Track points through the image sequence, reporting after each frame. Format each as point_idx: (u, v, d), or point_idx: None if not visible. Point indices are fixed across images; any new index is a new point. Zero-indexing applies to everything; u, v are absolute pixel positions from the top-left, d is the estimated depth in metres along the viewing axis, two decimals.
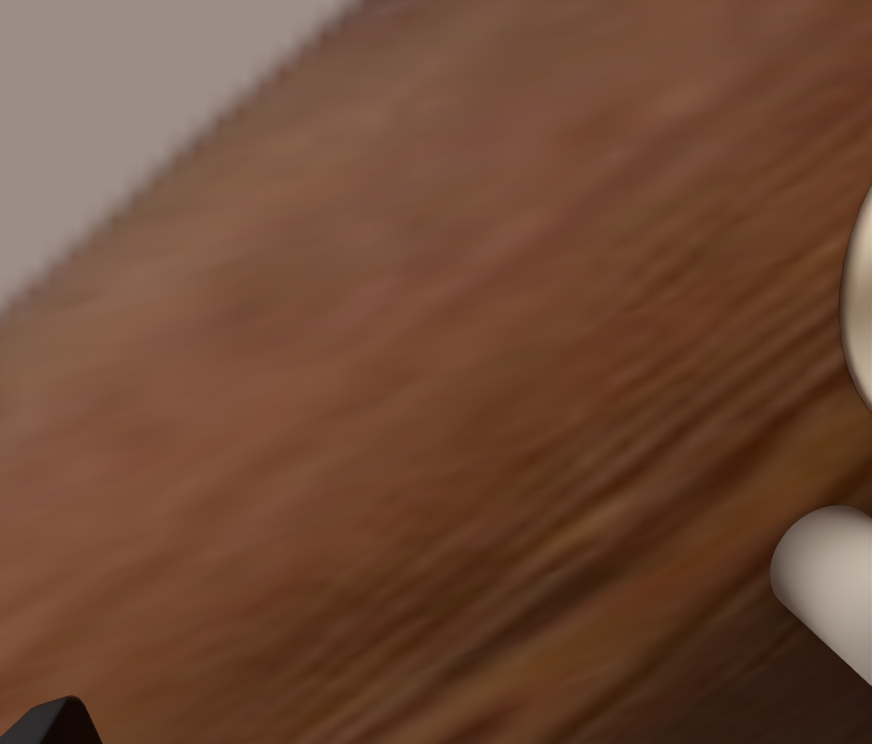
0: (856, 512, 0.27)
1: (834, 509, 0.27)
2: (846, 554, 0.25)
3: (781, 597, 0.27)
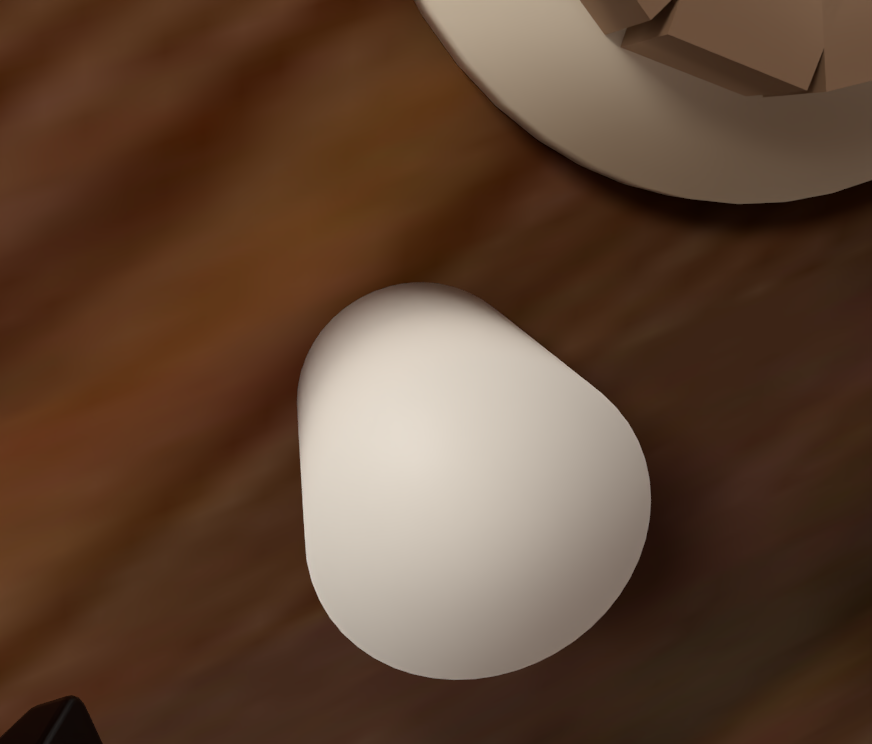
0: (450, 290, 0.13)
1: (408, 286, 0.13)
2: (355, 344, 0.11)
3: None
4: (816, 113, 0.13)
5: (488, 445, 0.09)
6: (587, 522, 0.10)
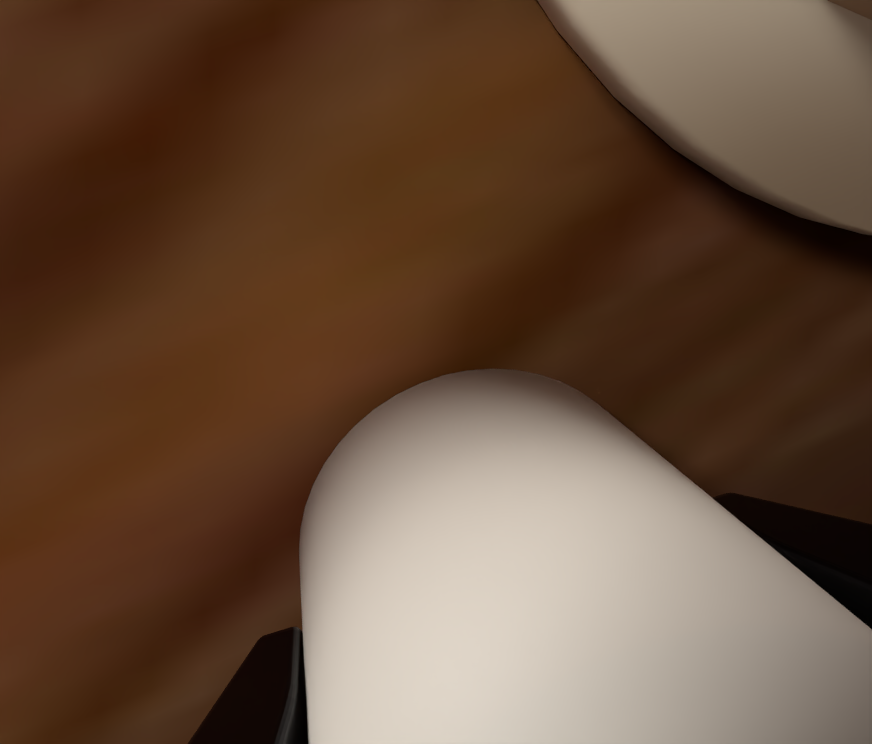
0: (540, 385, 0.08)
1: (473, 378, 0.09)
2: (402, 508, 0.06)
3: None
4: None
5: None
6: None
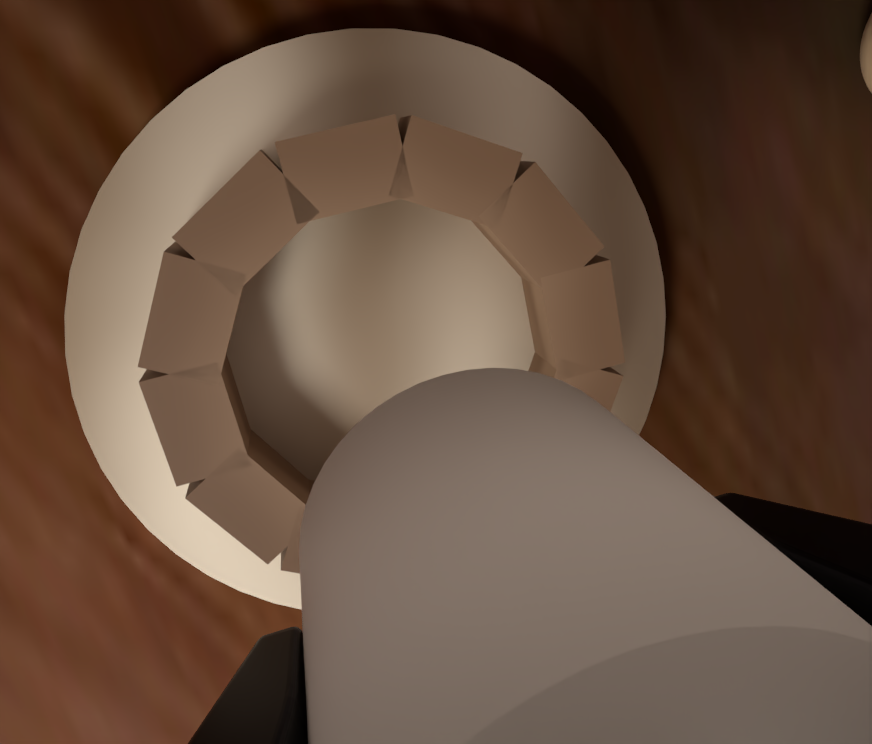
0: (541, 384, 0.08)
1: (474, 377, 0.08)
2: (403, 509, 0.06)
3: None
4: None
5: None
6: None
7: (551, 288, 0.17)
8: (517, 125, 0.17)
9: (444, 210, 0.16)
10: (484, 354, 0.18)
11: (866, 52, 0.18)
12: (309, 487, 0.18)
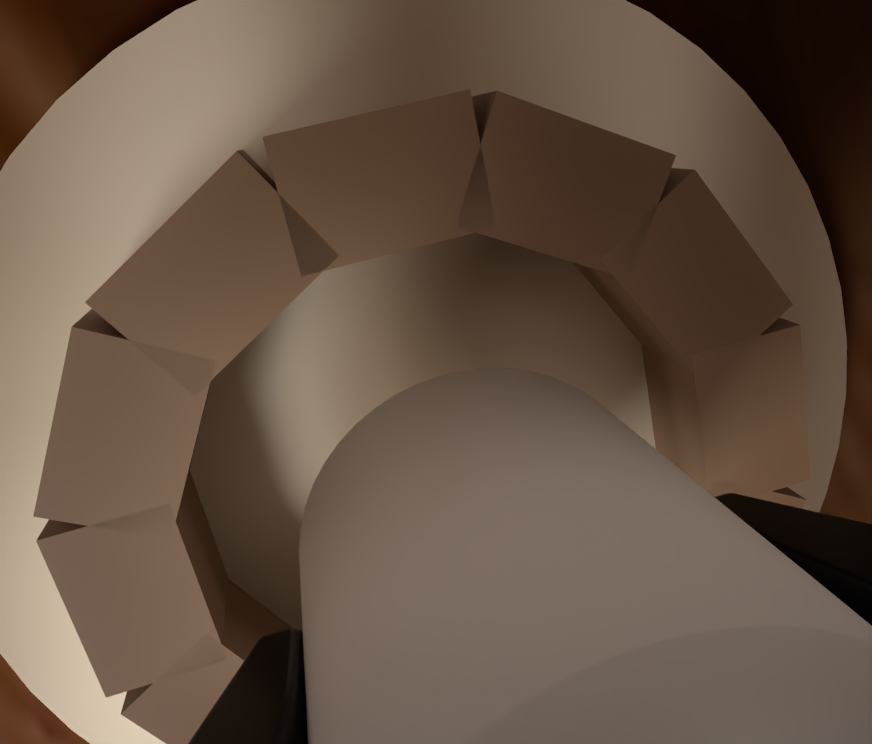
0: (541, 383, 0.08)
1: (474, 376, 0.08)
2: (402, 508, 0.06)
3: None
4: None
5: None
6: None
7: (707, 371, 0.10)
8: (646, 110, 0.11)
9: (545, 250, 0.09)
10: None
11: None
12: None
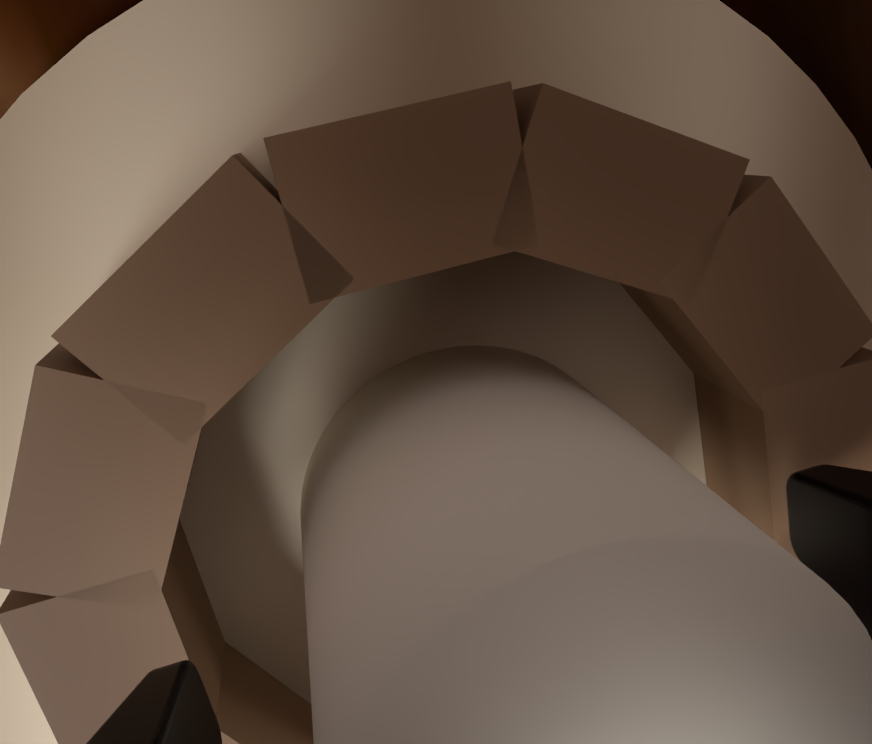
0: (518, 359, 0.09)
1: (458, 352, 0.09)
2: (391, 461, 0.07)
3: None
4: None
5: (637, 677, 0.05)
6: None
7: (778, 409, 0.09)
8: (705, 108, 0.09)
9: (596, 271, 0.08)
10: None
11: None
12: None
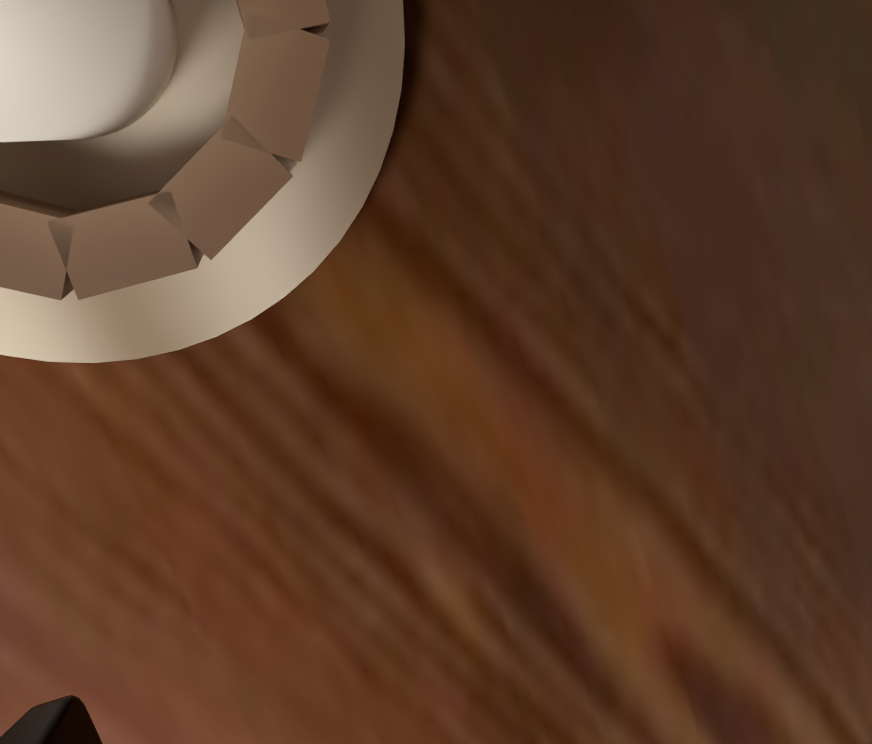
0: None
1: None
2: None
3: None
4: None
5: None
6: None
7: None
8: None
9: None
10: (183, 36, 0.16)
11: None
12: None
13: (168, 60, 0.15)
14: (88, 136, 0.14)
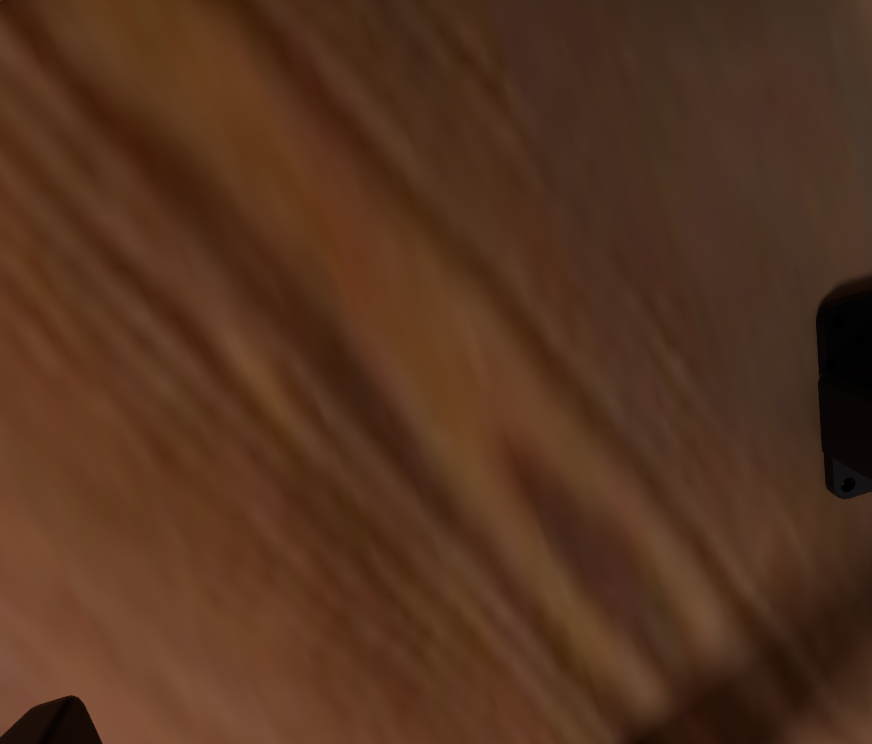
0: None
1: None
2: None
3: None
4: None
5: None
6: None
7: None
8: None
9: None
10: None
11: None
12: None
13: None
14: None
